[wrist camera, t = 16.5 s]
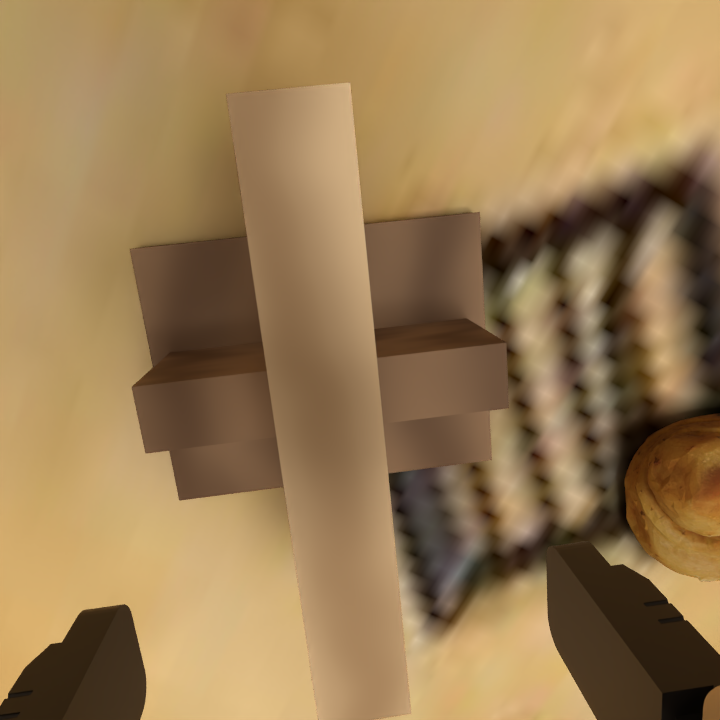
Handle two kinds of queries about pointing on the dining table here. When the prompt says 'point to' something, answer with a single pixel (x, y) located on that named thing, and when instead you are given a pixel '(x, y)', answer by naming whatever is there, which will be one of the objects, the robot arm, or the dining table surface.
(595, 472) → the dining table surface
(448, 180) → the dining table surface
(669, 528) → the bread roll
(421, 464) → the stand
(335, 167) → the oak bar
